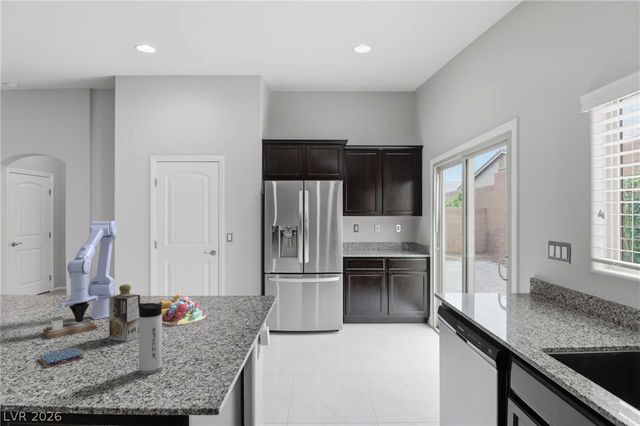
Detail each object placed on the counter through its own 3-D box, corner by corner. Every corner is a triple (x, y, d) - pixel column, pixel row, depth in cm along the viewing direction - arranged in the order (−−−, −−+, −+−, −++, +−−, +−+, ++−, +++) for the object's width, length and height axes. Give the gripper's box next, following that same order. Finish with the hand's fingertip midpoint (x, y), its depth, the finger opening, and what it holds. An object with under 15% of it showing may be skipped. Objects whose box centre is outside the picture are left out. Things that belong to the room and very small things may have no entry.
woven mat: (75, 351, 123) (75, 345, 123) (85, 359, 116) (85, 353, 116) (37, 360, 114) (37, 354, 115) (46, 370, 108) (46, 363, 108)
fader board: (89, 323, 152) (89, 318, 152) (96, 329, 145) (96, 322, 145) (42, 333, 140) (43, 326, 140) (48, 339, 133) (48, 332, 133)
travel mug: (142, 366, 109) (142, 301, 109) (164, 365, 110) (165, 300, 110) (133, 375, 103) (134, 306, 103) (157, 374, 104) (157, 306, 104)
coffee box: (141, 336, 136) (141, 294, 136) (126, 342, 130) (127, 298, 130) (122, 334, 139) (123, 292, 139) (108, 339, 133) (108, 296, 133)
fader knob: (60, 327, 142) (60, 316, 142) (63, 329, 139) (63, 318, 139) (50, 328, 140) (50, 318, 140) (53, 331, 137) (53, 320, 137)
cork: (125, 308, 178) (125, 286, 178) (115, 307, 179) (115, 285, 179) (134, 305, 184) (134, 283, 184) (124, 304, 185) (124, 283, 185)
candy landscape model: (138, 321, 156) (138, 300, 156) (177, 308, 178) (177, 290, 178) (183, 328, 147) (183, 306, 147) (218, 313, 169) (218, 294, 169)
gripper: (90, 284, 153) (90, 315, 153) (54, 291, 140) (53, 325, 140) (101, 285, 151) (101, 317, 150) (65, 292, 137) (65, 327, 137)
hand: (79, 321), depth 145 cm, fingers closed
